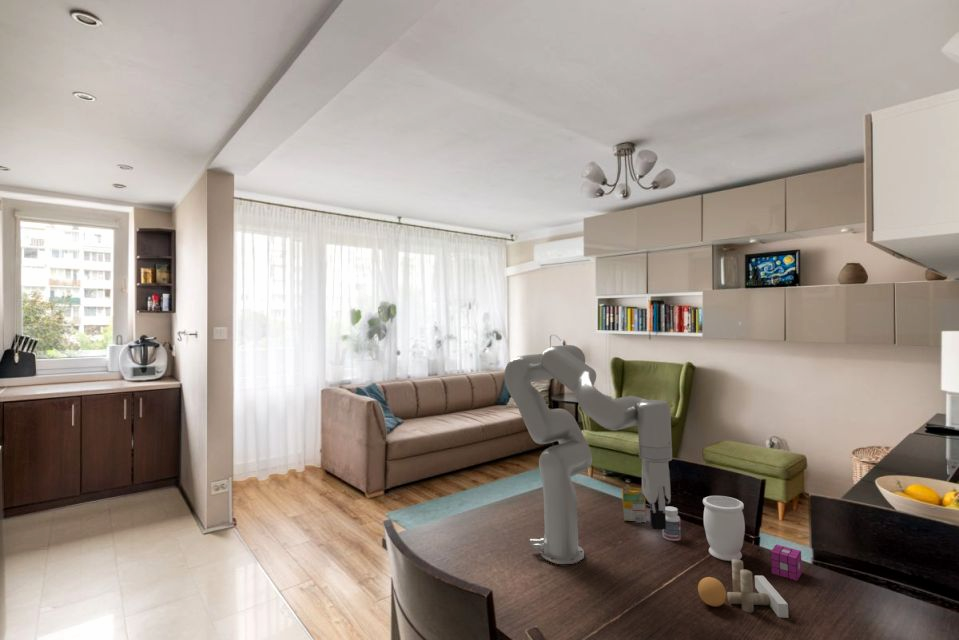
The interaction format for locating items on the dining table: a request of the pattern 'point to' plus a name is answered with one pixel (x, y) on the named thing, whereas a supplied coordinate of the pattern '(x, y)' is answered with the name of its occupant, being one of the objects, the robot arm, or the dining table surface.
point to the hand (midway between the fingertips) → (658, 527)
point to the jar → (724, 526)
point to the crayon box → (634, 505)
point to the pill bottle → (672, 524)
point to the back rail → (772, 596)
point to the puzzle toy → (786, 562)
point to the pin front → (757, 598)
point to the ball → (712, 591)
